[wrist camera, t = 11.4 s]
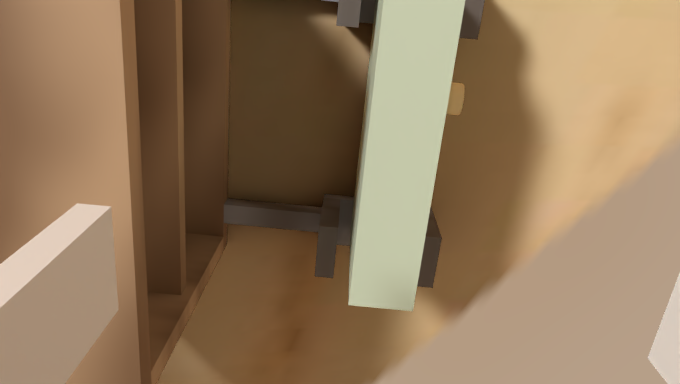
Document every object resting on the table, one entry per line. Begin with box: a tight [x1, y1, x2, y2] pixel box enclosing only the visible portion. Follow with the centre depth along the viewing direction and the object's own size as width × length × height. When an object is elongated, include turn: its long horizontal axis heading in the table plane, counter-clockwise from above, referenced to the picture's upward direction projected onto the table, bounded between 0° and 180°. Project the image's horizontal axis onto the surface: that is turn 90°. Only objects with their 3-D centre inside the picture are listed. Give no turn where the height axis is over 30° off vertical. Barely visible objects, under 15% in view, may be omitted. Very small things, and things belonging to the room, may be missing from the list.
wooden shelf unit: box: [0, 0, 485, 384], centre depth 23 cm, size 22×18×14 cm
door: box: [348, 0, 465, 311], centre depth 26 cm, size 4×14×8 cm, turn 175°
